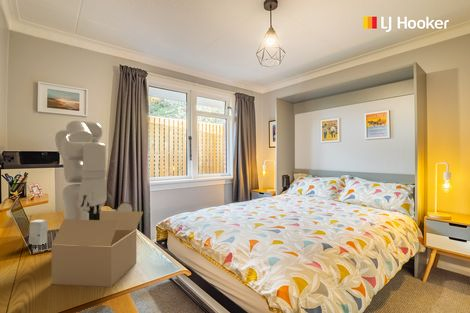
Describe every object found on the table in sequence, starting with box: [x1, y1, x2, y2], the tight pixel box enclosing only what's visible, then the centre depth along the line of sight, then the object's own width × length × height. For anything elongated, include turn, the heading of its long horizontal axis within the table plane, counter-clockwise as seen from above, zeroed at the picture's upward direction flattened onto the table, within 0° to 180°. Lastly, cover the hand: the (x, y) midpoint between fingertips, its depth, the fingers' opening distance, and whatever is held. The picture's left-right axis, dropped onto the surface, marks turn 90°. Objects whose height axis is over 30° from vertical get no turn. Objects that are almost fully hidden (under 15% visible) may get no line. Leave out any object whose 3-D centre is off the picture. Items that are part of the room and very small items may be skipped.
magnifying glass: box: [115, 201, 134, 211], centre depth 125 cm, size 9×2×20 cm, turn 135°
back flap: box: [100, 210, 144, 231], centre depth 103 cm, size 21×9×1 cm
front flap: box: [51, 218, 119, 246], centre depth 84 cm, size 21×9×1 cm
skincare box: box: [28, 219, 48, 246], centre depth 117 cm, size 6×4×12 cm
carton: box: [51, 229, 137, 288], centre depth 91 cm, size 22×18×14 cm
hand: (94, 223), depth 88 cm, fingers closed
